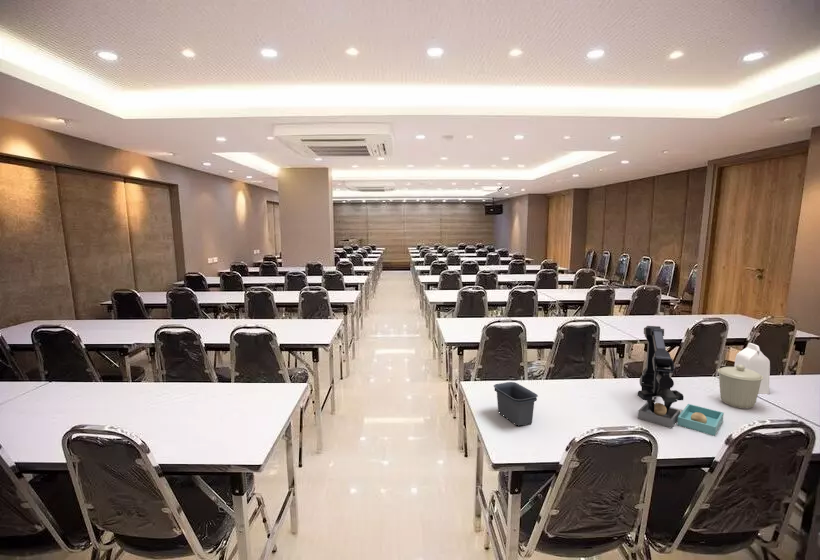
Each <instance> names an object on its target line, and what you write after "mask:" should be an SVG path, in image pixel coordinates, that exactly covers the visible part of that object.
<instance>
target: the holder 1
mask: <svg viewBox="0 0 820 560" xmlns="http://www.w3.org/2000/svg"><path fill="white" fill-rule="evenodd" d="M655 403H656V402H655ZM655 403H654V404H655ZM674 408H675V407H673V408H669V410H668V412H667V413H666V414H665V415H664V416H659V415H656V414H654V413H652V412H651V409H650V407H649V404H648V402H647V401H645V403H644V404H643V405H642V406H641V407H640V408H639V409H638V412H637V419H639V420H642V421H646V422H650V423H653V424H656V425H659V426H662V427H666V428H670V429H673V428H672V427H674V426H675V425H676V424H677V422H678V416H679V415H680V410H678V409H679V408H677V409H674Z"/></svg>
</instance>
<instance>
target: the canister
mask: <svg viewBox="0 0 820 560" xmlns="http://www.w3.org/2000/svg"><path fill="white" fill-rule="evenodd" d="M717 373H718V379H719V380H718V381H719V382H718V383H719V394H720V399H721V401H722V402H723V403H725V404H726V405H728V406H730V407H733V408H737V409H752V408H753V407H754V406H755V405H756V402H757V399H758V395H759V394H758V392H759V388H760V384H761V380H763V376H762V375H760V374H759V373H757V372H755V371H752V370H749V369H745V367H744V366H743V365H740V364H739V365H736V367H734V366H723V367H721V368H717Z"/></svg>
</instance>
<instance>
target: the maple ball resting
mask: <svg viewBox="0 0 820 560" xmlns="http://www.w3.org/2000/svg"><path fill="white" fill-rule="evenodd" d="M691 420H693V421H697V422H700V423H704V424H706V423H707V418H706V417H705V415H704V414H702V413H699V412H696V413H693V414H692V415H691Z"/></svg>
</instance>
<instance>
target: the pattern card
mask: <svg viewBox="0 0 820 560" xmlns="http://www.w3.org/2000/svg"><path fill="white" fill-rule="evenodd" d="M670 408H674V409H678V410H680V414H681V412H682V411H683V410H684V409H682V408H677V407H674V406H670Z"/></svg>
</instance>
